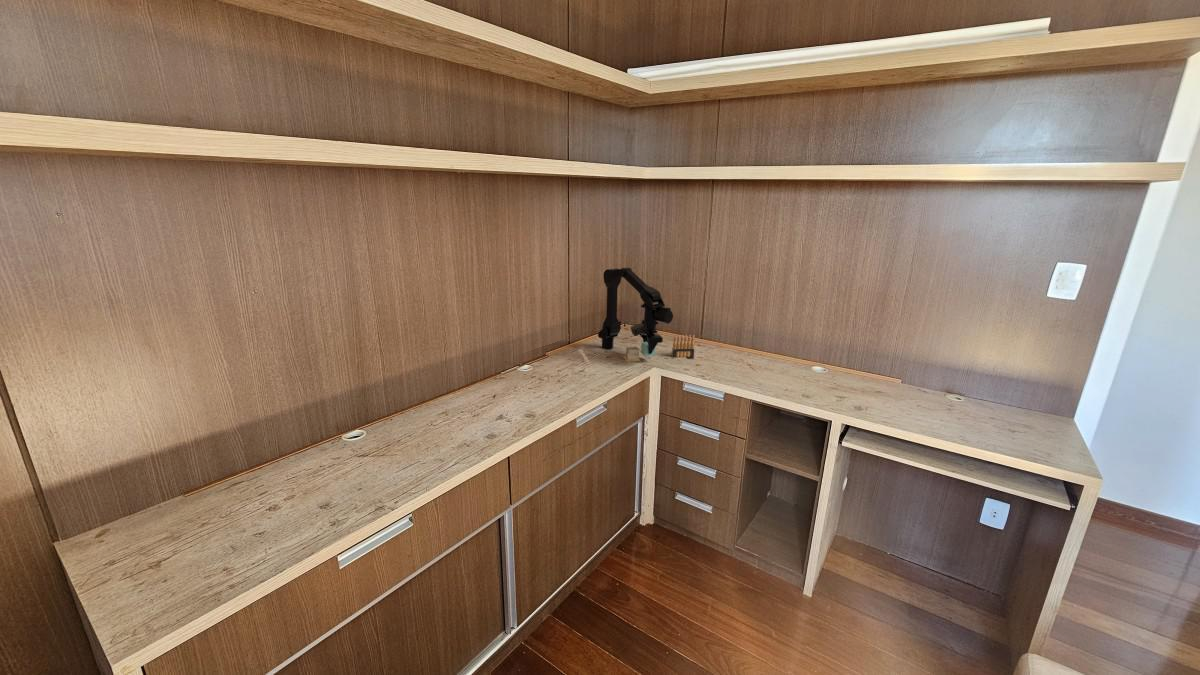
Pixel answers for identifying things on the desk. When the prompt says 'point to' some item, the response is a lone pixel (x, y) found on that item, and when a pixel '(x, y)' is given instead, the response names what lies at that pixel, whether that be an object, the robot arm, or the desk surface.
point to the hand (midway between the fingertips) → (647, 351)
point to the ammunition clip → (683, 347)
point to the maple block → (632, 353)
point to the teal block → (646, 349)
